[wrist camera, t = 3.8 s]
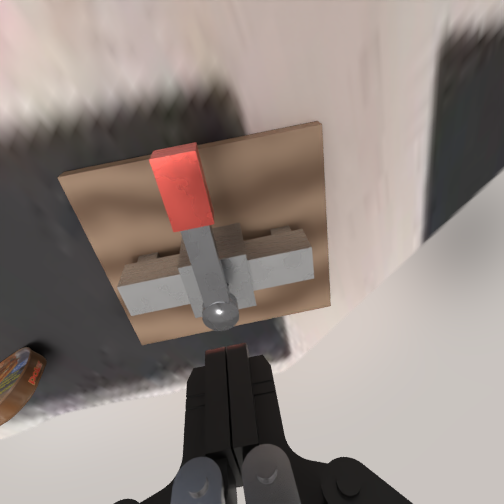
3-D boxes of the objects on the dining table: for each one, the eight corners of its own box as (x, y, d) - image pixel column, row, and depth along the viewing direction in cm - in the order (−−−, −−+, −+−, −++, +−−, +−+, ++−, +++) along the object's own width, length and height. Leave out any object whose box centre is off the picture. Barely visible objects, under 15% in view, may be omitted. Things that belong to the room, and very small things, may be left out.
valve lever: (155, 144, 23) (147, 160, 20) (198, 135, 23) (197, 150, 20) (207, 306, 31) (207, 335, 28) (238, 299, 31) (242, 328, 28)
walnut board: (63, 171, 31) (57, 177, 29) (317, 121, 31) (321, 124, 30) (144, 336, 42) (142, 344, 41) (326, 298, 43) (330, 306, 42)
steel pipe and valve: (124, 246, 34) (109, 282, 29) (297, 210, 34) (313, 240, 29) (144, 291, 37) (134, 330, 32) (301, 258, 37) (317, 292, 32)
